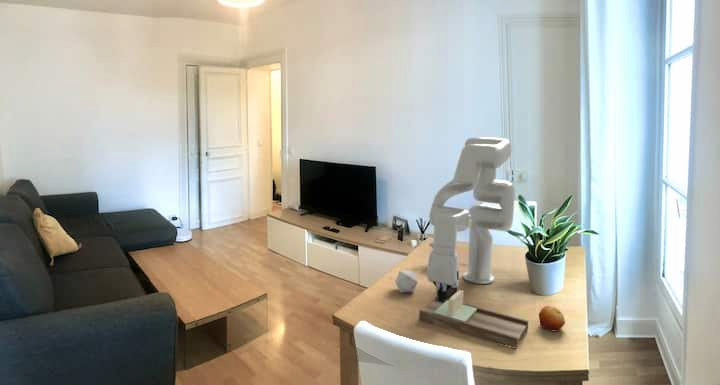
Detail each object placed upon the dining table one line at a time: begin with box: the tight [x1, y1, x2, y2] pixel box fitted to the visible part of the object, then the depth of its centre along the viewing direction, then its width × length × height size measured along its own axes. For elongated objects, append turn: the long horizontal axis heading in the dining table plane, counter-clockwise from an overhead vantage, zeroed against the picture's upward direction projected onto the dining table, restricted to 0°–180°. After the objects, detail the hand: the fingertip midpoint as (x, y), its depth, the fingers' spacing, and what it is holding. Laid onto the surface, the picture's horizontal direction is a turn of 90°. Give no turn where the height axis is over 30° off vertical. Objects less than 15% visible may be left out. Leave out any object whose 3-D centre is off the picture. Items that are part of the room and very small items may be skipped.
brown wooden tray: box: [418, 296, 529, 349], centre depth 147 cm, size 14×32×3 cm, turn 56°
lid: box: [433, 289, 477, 322], centre depth 149 cm, size 11×11×6 cm
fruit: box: [538, 305, 566, 331], centre depth 145 cm, size 8×8×8 cm
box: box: [436, 284, 458, 300], centre depth 166 cm, size 6×6×7 cm
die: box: [394, 270, 419, 294], centre depth 173 cm, size 8×9×10 cm
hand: (442, 300), depth 152 cm, fingers closed
